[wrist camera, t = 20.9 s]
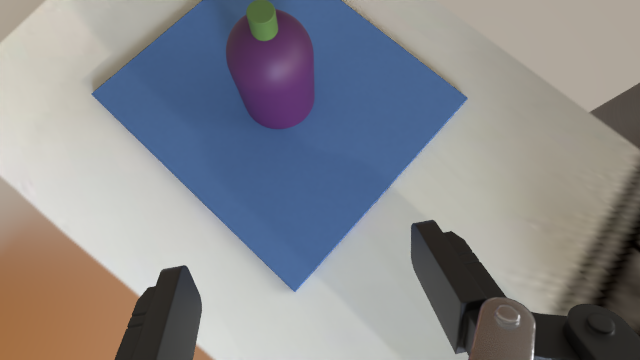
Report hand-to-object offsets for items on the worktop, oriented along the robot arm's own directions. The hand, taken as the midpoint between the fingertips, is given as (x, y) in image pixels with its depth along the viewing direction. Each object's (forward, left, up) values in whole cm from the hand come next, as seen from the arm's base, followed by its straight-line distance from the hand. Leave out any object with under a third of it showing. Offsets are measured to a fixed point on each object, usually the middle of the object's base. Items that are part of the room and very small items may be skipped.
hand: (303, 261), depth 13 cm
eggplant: (0, -12, -10) cm, 16 cm away
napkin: (0, -12, -11) cm, 16 cm away
